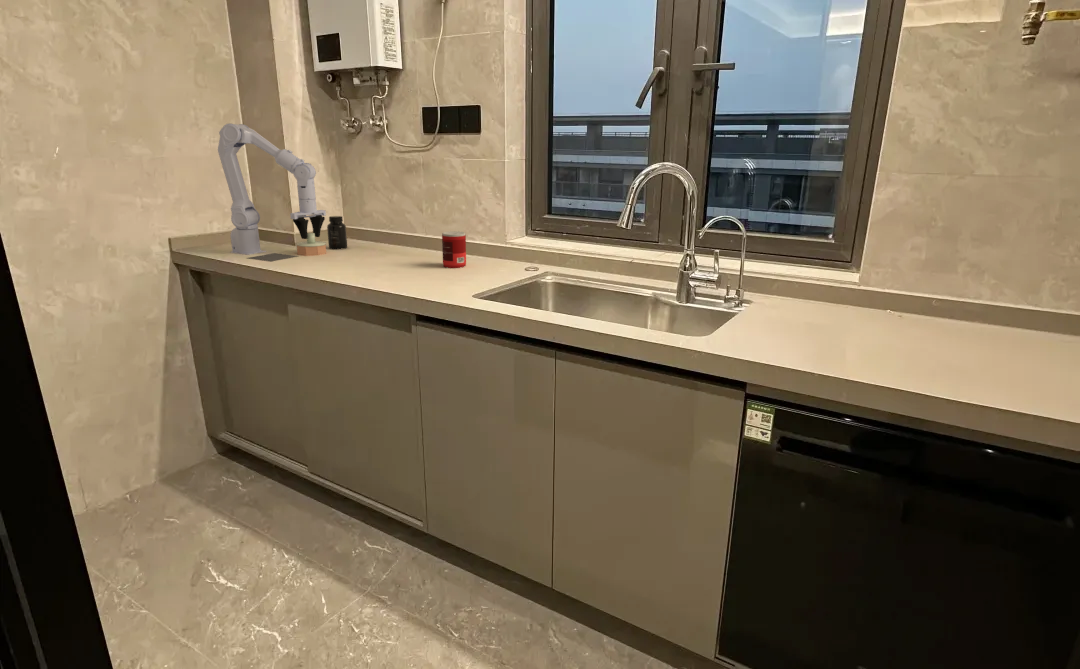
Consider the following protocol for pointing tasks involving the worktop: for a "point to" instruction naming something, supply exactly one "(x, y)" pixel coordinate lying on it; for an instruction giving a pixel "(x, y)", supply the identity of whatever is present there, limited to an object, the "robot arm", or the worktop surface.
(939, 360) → the worktop surface
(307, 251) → the bowl
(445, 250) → the canned food
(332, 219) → the supplement bottle
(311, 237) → the lid
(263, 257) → the mat
